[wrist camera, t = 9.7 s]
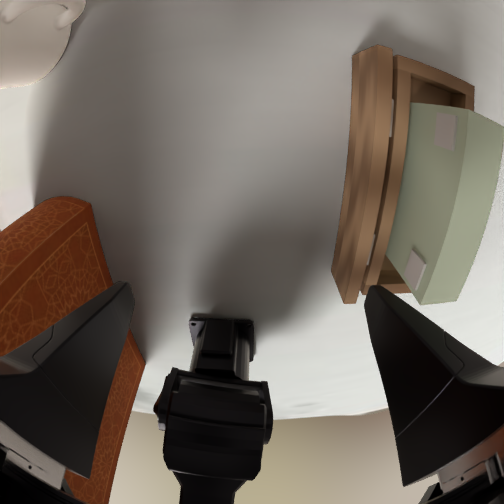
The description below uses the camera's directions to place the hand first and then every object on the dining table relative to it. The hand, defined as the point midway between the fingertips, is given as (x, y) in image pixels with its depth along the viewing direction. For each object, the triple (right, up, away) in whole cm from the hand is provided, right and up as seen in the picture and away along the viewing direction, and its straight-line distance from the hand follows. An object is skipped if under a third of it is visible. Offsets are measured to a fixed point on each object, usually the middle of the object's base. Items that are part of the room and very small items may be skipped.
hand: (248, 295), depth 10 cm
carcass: (+13, +8, +9) cm, 17 cm away
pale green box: (+13, +7, +8) cm, 16 cm away
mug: (-17, +20, +3) cm, 26 cm away
